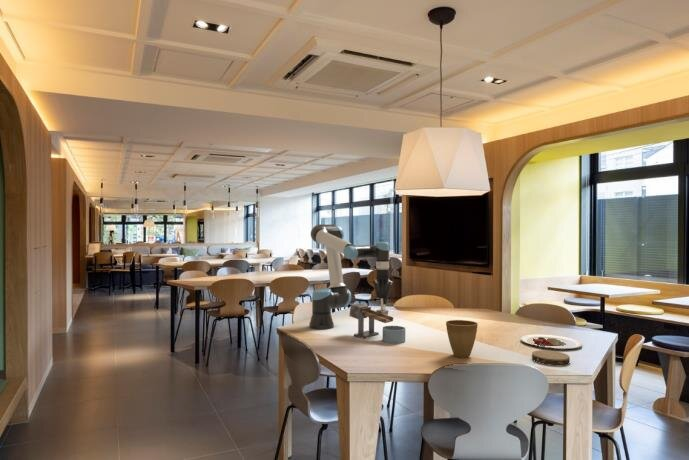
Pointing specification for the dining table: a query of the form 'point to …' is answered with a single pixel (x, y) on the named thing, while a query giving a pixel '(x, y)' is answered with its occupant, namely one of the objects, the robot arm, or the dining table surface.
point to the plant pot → (461, 336)
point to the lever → (370, 313)
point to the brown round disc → (550, 357)
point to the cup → (394, 334)
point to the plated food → (549, 341)
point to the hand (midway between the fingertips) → (383, 309)
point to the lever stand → (361, 331)
